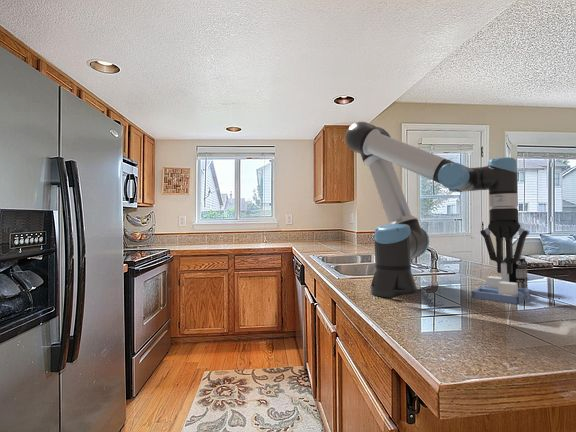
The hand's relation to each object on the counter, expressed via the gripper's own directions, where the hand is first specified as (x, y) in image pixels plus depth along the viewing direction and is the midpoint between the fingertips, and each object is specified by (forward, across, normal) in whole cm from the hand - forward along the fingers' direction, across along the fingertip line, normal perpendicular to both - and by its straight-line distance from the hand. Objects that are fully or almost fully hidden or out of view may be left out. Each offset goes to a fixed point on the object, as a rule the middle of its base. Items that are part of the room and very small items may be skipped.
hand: (505, 283), depth 104 cm
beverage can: (+5, 0, +10) cm, 11 cm away
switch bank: (+5, 0, -4) cm, 6 cm away
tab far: (+3, -3, 0) cm, 4 cm away
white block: (+3, +2, -8) cm, 9 cm away
